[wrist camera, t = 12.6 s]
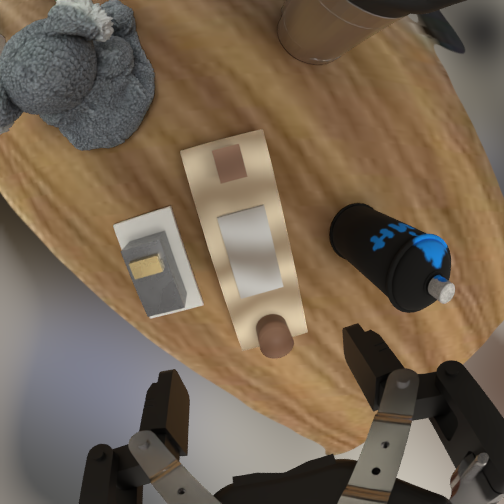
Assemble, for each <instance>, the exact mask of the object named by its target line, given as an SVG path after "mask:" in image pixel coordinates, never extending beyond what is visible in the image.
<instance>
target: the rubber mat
mask: <svg viewBox="0 0 504 504" xmlns="http://www.w3.org/2000/svg"><path fill="white" fill-rule="evenodd" d="M113 227H114V230H115V233H116V235H117V238H118V241H119V244H120V246H121V249H123V248H124V247H125V246H126V245H127V244H128V243H129V241H132V240H136V239H139V238H142V237H145V236H149V235H152V234H155V233H158V232H162V231H165V232H166V235H167V238H168V241H169V244H170V247H171V250H172V253H173V255H174V258H175V261H176V264H177V267H178V270H179V272H180V275H181V278H182V281H183V283H184V286H185V289H186V291H187V297H186V303H185V308H182V309H178V310H174V311H170V312H166V313H162V314H158V315H154V316H150V318H154V317H159V316H163V315H167V314H171V313H175V312H179V311H183V310H187V309H191V308H195V307H198V306H202V305H204V302H203V299H202V296H201V294H200V291H199V288H198V285H197V282H196V280H195V277H194V274H193V271H192V268H191V265H190V262H189V259H188V256H187V253H186V250H185V247H184V244H183V241H182V238H181V235H180V232H179V229H178V226H177V223H176V220H175V217H174V213H173V210H172V207H171V206H168V207H165V208H162V209H158V210H155V211H152V212H149V213H146V214H143V215H140V216H137V217H134V218H131V219H128V220H125V221H122V222H119V223H116V224H114V225H113Z"/></svg>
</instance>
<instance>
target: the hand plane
mask: <svg viewBox="0 0 504 504" xmlns="http://www.w3.org/2000/svg"><path fill="white" fill-rule="evenodd" d="M180 153H181V157H182V161H183V164H184V168H185V171H186V175H187V178H188V182H189V185H190V189H191V192H192V196H193V199H194V202H195V206H196V209H197V213H198V216H199V219H200V223H201V226H202V229H203V232H204V236H205V239H206V242H207V245H208V249H209V252H210V255H211V258H212V261H213V264H214V268H215V271H216V274H217V277H218V280H219V283H220V286H221V289H222V292H223V295H224V298H225V301H226V304H227V307H228V310H229V313H230V316H231V319H232V322H233V325H234V328H235V331H236V334H237V337H238V340H239V343H240V345H241V348H242V351H244V350H248V349H252V348H256V347H259V346H260V350H261V352H262V353H263V355H265V356H266V357H268V358H281V357H283V356H285V355H287V354H288V353H289V352H290V351H291V350H292V348H293V345H294V341H293V338H292V337H294V336H298V335H301V334H304V333H307V332H308V331H307V326H306V321H305V316H304V310H303V305H302V300H301V295H300V290H299V285H298V280H297V275H296V271H295V266H294V261H293V256H292V252H291V247H290V242H289V238H288V233H287V229H286V224H285V220H284V215H283V211H282V206H281V202H280V198H279V193H278V189H277V185H276V181H275V177H274V172H273V168H272V164H271V160H270V156H269V152H268V148H267V144H266V140H265V136H264V132H263V129H261V130H257V131H252V132H248V133H244V134H240V135H236V136H232V137H228V138H224V139H220V140H217V141H213V142H209V143H206V144H202V145H199V146H195V147H192V148H188V149H185V150H182V151H180Z"/></svg>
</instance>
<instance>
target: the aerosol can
mask: <svg viewBox="0 0 504 504" xmlns="http://www.w3.org/2000/svg"><path fill="white" fill-rule="evenodd" d="M330 241H331V245H332V247H333V249H334V251H335V252H336V253H337V254H338V255H339V256H340V257H342V258H344V259H346V260H348V261H349V262H350V263H351V264H352V265H353V266H354V267H356V268H357V269H358V270H359V271H360V272H361V273H362V274H363V275H364V276H366V277H367V278H368V279H369V280H370V281H371V282H372V283H373V284H374V285H375V286H377V287H378V288H379V289H380V290H381V291H382V292H383V293H384V294H385V295H386V296H387V297H388V298H389V300H390V302H391V303H392V305H393V306H394V307H395V308H396V309H398V310H400V311H402V312H407V313H411V312H417V311H420V310H422V309H424V308H426V307H427V306H429V305H431V304H432V303H434V302H435V301H436V300H438V301H440V302H441V303H443V304H444V303H447V302H449V301H450V300H451V299H452V297H453V295H454V293H455V286H454V284H452V283H451V282H449V278H450V271H451V255H450V251H449V248H448V246H447V244H446V243H445V242H444V240H443V239H441V238H440V237H439V236H437V235H434V234H426V233H424V232H422V231H420V230H418V229H416V228H414V227H412V226H409V225H407V224H405V223H403V222H401V221H398V220H396V219H394V218H392V217H389V216H387V215H385V214H382V213H380V212H378V211H376V210H374V209H373V208H372V207H370V206H369V205H366V204H361V203H356V204H351V205H348V206H346V207H345V208H343V209H342V210H341V211H340V212H339V213H338V214H337V215H336V216H335V218H334V220H333V222H332V225H331V228H330Z"/></svg>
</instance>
